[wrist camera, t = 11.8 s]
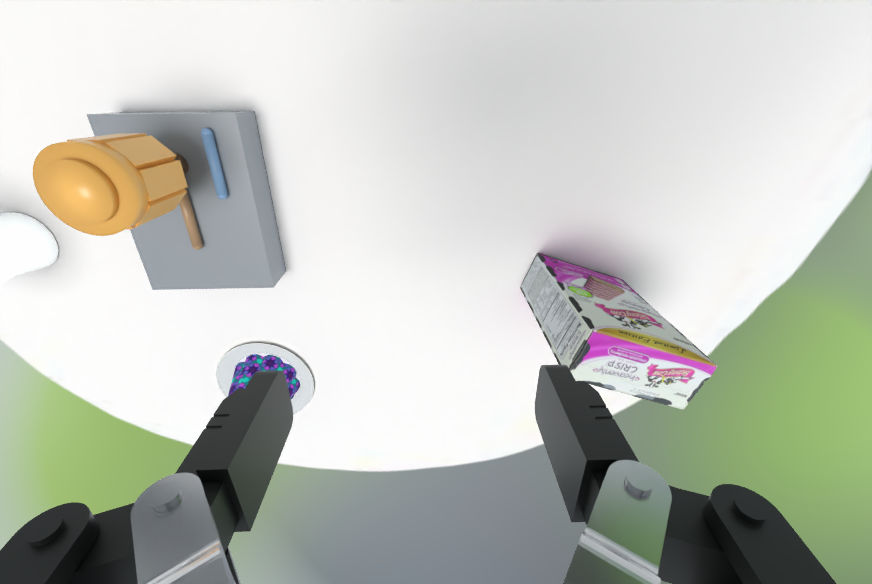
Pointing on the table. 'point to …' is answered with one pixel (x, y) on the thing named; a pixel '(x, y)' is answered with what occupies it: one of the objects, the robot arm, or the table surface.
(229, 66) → the table surface
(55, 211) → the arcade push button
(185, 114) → the box
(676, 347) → the candy bar box
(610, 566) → the robot arm
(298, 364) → the pudding
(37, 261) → the beer glass
